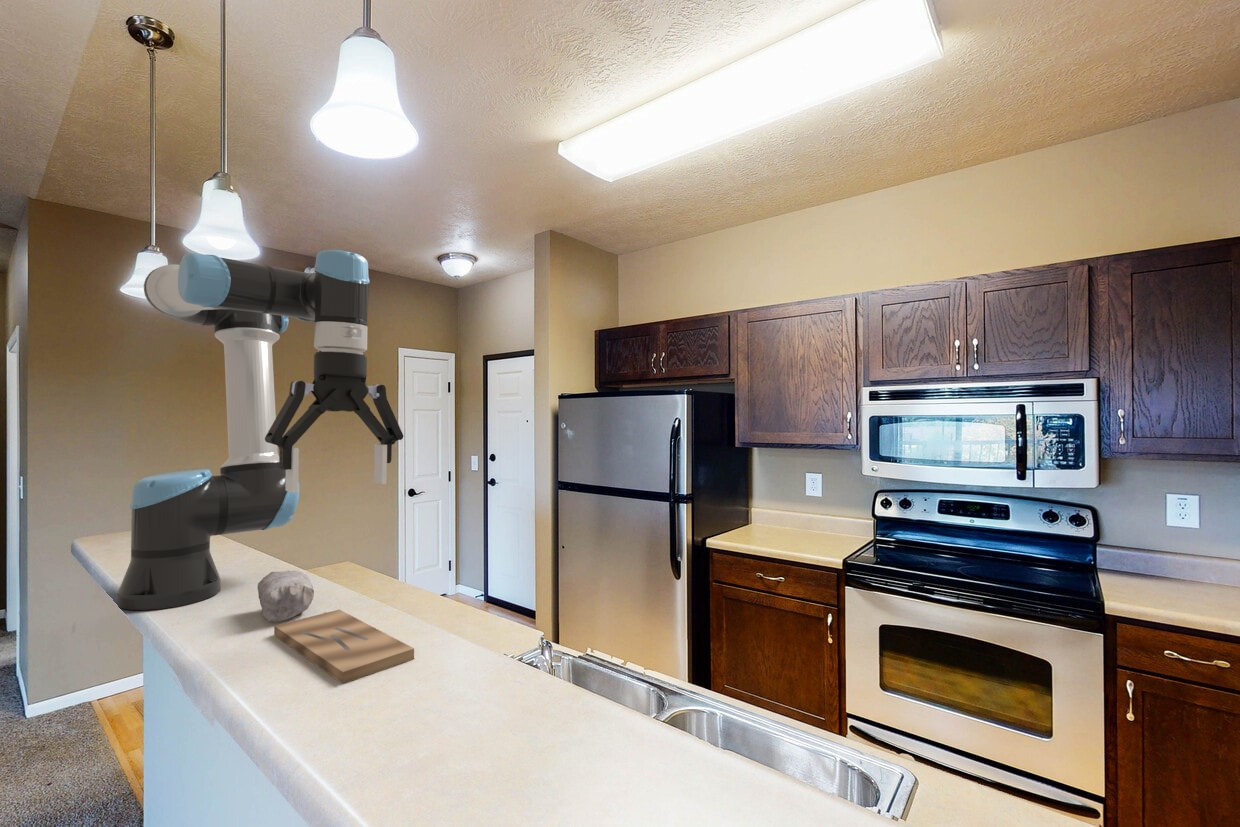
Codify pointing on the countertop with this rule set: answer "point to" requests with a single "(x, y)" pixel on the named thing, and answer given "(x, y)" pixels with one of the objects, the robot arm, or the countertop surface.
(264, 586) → the stone
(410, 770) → the countertop surface
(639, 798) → the countertop surface
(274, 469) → the robot arm
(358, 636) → the board
